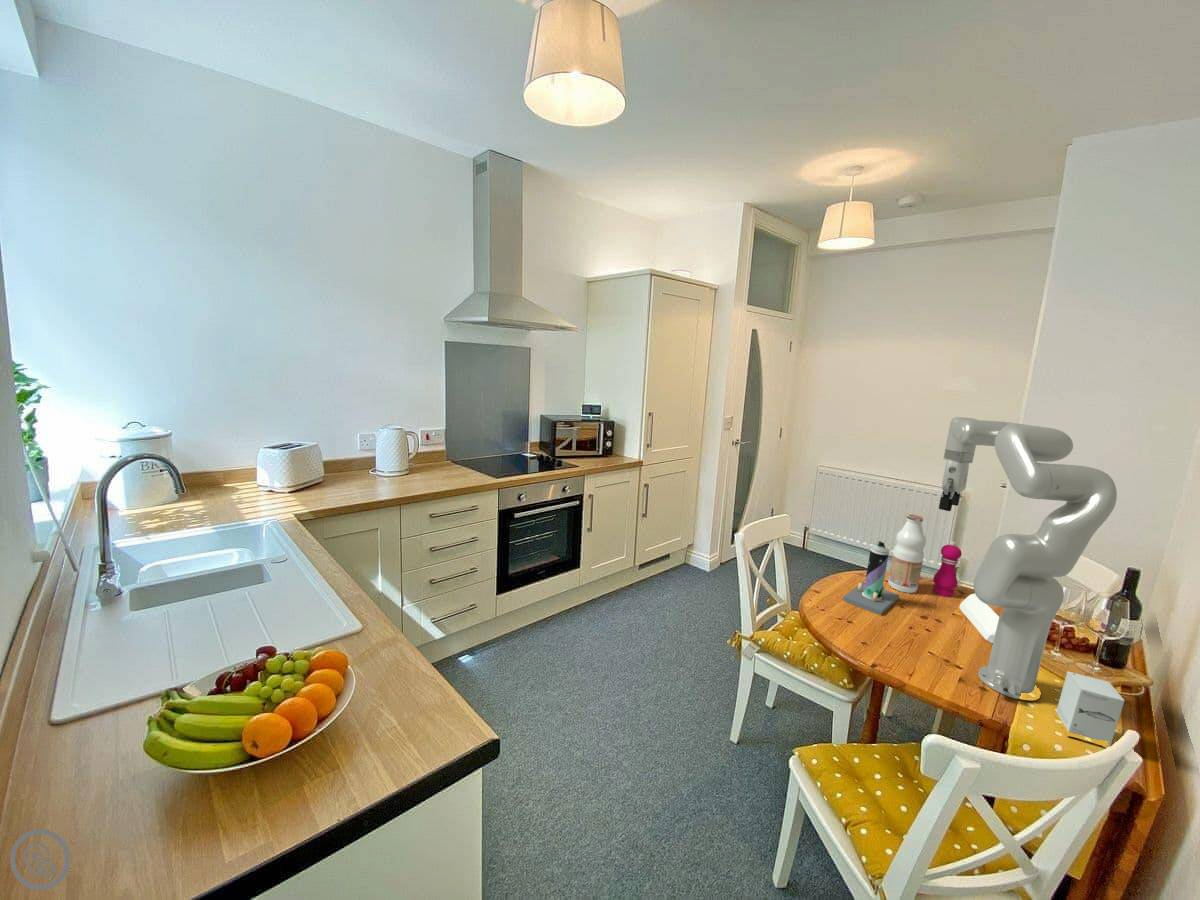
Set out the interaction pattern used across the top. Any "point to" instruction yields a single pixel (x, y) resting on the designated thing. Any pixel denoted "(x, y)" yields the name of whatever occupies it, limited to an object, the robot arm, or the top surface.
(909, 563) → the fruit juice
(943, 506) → the robot arm
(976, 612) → the white long bar
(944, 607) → the top surface
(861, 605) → the pin board
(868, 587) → the spray can
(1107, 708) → the supplement box
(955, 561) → the pepper mill
